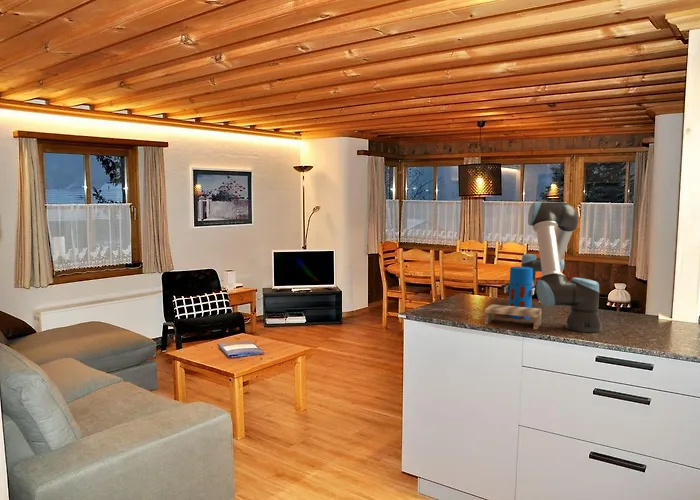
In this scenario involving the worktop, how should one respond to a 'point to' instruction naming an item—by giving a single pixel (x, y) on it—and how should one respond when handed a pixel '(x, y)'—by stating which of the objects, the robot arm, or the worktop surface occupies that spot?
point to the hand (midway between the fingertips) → (518, 291)
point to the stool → (513, 313)
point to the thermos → (520, 288)
